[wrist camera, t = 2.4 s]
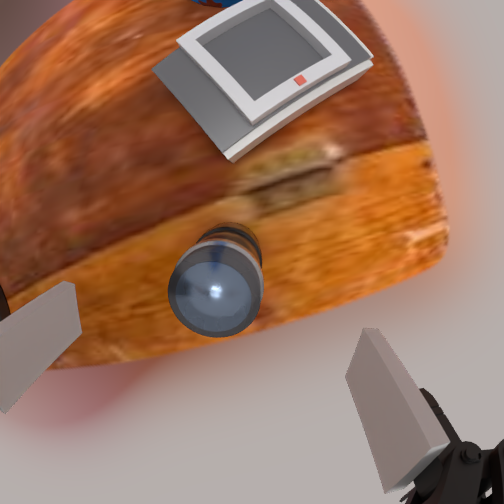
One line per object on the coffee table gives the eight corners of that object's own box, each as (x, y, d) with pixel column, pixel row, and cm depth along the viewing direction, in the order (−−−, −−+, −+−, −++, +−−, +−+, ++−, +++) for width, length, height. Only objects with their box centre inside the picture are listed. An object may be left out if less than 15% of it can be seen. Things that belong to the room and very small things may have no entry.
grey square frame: (233, 163, 22) (224, 156, 16) (170, 87, 20) (142, 61, 14) (359, 79, 20) (389, 52, 13) (294, 11, 18) (303, -28, 11)
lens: (225, 291, 25) (208, 356, 16) (187, 245, 24) (145, 287, 15) (274, 257, 24) (285, 308, 15) (235, 207, 23) (219, 226, 14)
